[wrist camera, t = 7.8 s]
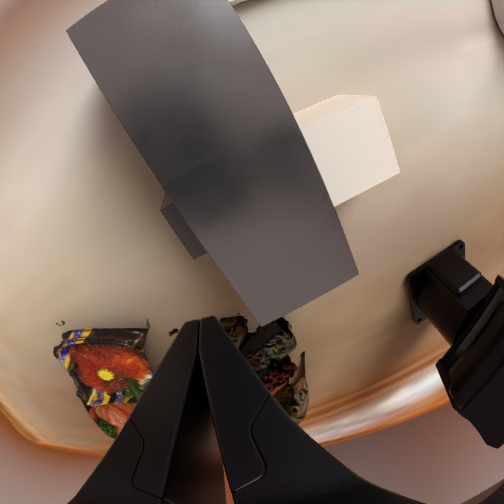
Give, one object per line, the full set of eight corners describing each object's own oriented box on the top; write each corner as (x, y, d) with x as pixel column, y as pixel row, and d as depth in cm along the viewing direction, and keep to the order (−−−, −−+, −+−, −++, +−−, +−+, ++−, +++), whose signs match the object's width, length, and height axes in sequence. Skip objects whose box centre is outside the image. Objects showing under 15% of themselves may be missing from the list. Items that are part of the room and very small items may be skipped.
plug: (374, 149, 16) (414, 165, 13) (198, 240, 17) (199, 277, 14) (352, 89, 14) (392, 89, 11) (161, 184, 15) (151, 209, 12)
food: (321, 293, 22) (339, 325, 18) (292, 418, 31) (300, 443, 28) (35, 309, 18) (19, 341, 15) (107, 428, 27) (104, 454, 24)
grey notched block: (314, 221, 18) (358, 274, 13) (242, 260, 19) (261, 326, 13) (196, 4, 11) (196, -45, 6) (111, 52, 11) (65, 30, 6)
